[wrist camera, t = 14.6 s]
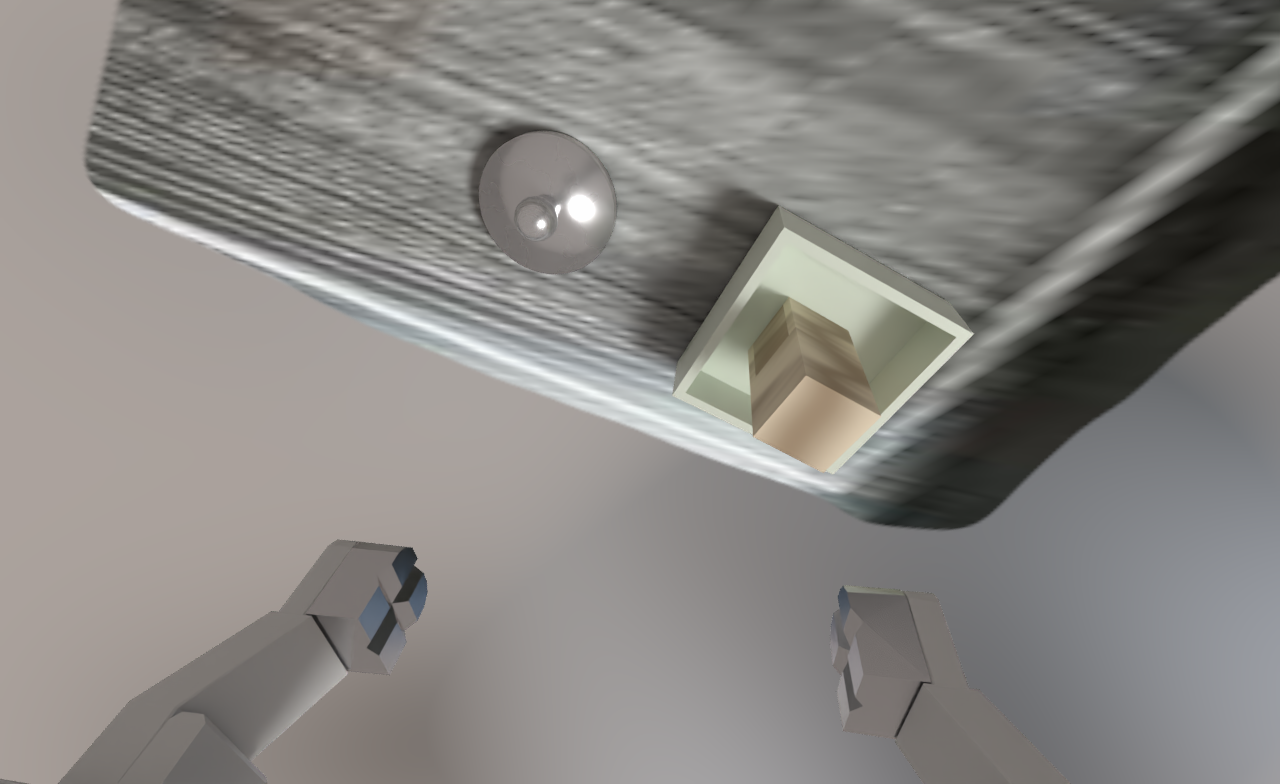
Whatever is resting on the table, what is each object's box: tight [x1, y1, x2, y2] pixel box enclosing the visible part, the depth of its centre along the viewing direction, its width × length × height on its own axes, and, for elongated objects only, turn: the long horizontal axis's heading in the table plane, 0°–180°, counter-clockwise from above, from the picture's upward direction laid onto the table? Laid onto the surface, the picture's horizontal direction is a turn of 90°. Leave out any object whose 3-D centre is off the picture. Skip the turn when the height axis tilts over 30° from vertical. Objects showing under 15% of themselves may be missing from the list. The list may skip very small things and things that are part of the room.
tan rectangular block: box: [748, 297, 881, 473], centre depth 32 cm, size 4×4×9 cm
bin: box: [672, 205, 974, 474], centre depth 34 cm, size 12×12×4 cm
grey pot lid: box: [479, 130, 617, 274], centre depth 31 cm, size 8×8×4 cm
